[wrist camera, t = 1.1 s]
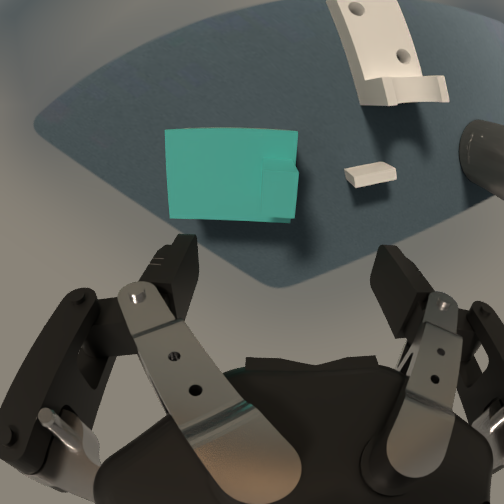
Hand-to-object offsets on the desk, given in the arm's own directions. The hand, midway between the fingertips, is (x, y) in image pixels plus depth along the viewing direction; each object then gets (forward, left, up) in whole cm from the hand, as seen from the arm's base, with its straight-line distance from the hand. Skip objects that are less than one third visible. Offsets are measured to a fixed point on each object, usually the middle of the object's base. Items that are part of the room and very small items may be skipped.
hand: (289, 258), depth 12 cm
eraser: (-10, -1, -20) cm, 22 cm away
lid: (+4, 0, -14) cm, 15 cm away
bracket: (-10, -15, -20) cm, 27 cm away
